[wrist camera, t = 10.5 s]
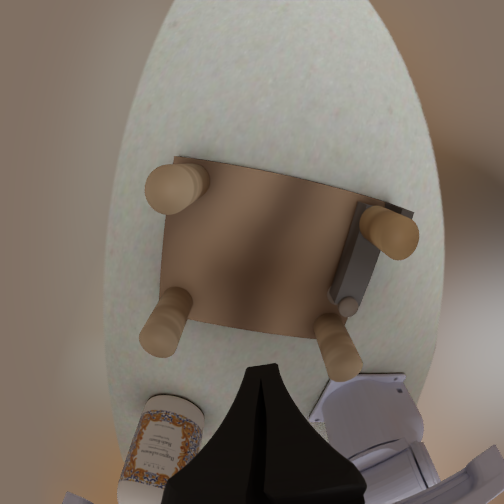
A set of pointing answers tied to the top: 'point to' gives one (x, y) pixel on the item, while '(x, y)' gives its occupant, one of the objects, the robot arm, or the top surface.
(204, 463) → the robot arm
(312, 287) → the stool board
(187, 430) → the bath foam
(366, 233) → the grey bar with knob
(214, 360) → the top surface
